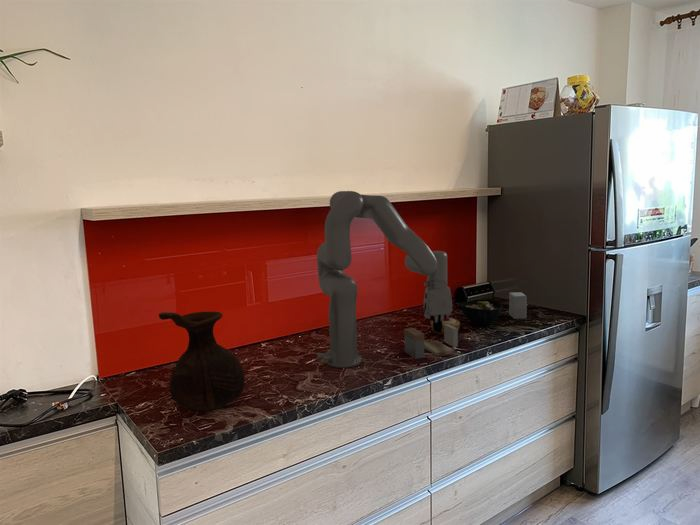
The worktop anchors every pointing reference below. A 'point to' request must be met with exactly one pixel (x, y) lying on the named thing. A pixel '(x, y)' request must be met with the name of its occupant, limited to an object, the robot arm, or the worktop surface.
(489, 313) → the bowl
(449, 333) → the tile
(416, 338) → the brown rectangular block
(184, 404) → the jug
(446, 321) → the pastry
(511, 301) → the small box
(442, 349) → the board
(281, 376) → the worktop surface
